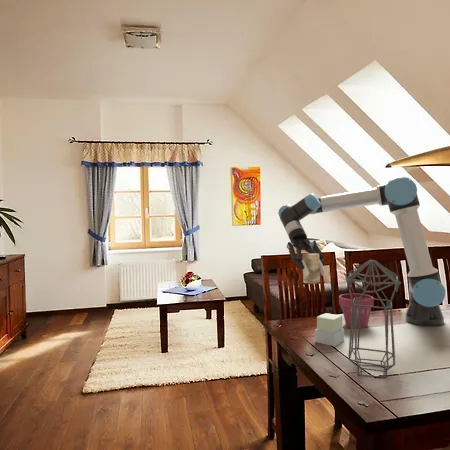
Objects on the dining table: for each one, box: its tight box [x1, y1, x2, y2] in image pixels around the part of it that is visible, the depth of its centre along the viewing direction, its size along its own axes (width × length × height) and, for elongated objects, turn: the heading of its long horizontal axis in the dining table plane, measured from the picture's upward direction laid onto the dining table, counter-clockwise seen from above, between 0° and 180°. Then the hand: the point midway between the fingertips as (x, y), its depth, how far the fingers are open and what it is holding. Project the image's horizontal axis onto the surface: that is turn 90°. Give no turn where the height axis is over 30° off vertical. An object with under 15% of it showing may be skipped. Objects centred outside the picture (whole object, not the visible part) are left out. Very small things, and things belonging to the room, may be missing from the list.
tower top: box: [316, 312, 344, 333], centre depth 146 cm, size 7×7×5 cm
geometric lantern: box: [345, 259, 402, 379], centre depth 117 cm, size 16×16×35 cm
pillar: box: [302, 252, 321, 285], centre depth 158 cm, size 5×5×12 cm
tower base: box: [314, 327, 345, 347], centre depth 147 cm, size 8×8×5 cm
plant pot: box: [338, 293, 375, 329], centre depth 166 cm, size 14×14×13 cm
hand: (315, 274), depth 155 cm, fingers closed on pillar, 7 cm apart
